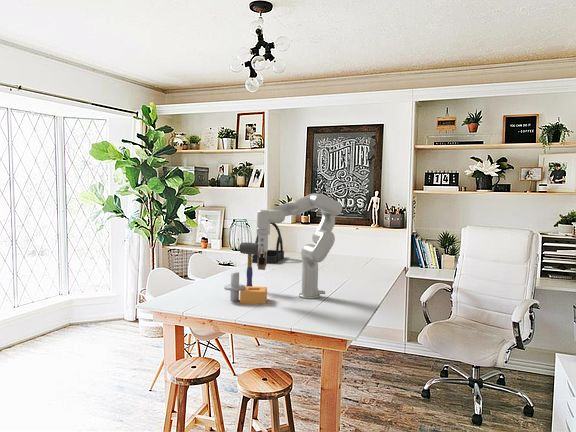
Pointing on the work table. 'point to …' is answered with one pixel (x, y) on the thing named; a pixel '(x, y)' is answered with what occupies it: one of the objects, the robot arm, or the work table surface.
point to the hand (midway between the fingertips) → (261, 263)
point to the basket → (272, 255)
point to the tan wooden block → (262, 267)
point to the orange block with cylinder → (245, 291)
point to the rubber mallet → (249, 258)
